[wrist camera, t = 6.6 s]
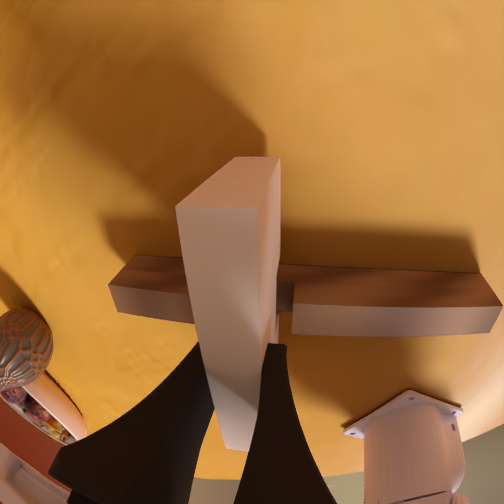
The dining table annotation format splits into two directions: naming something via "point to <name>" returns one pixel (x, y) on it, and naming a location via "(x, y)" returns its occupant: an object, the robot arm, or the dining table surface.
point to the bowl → (47, 409)
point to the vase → (23, 347)
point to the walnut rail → (329, 299)
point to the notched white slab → (234, 283)
